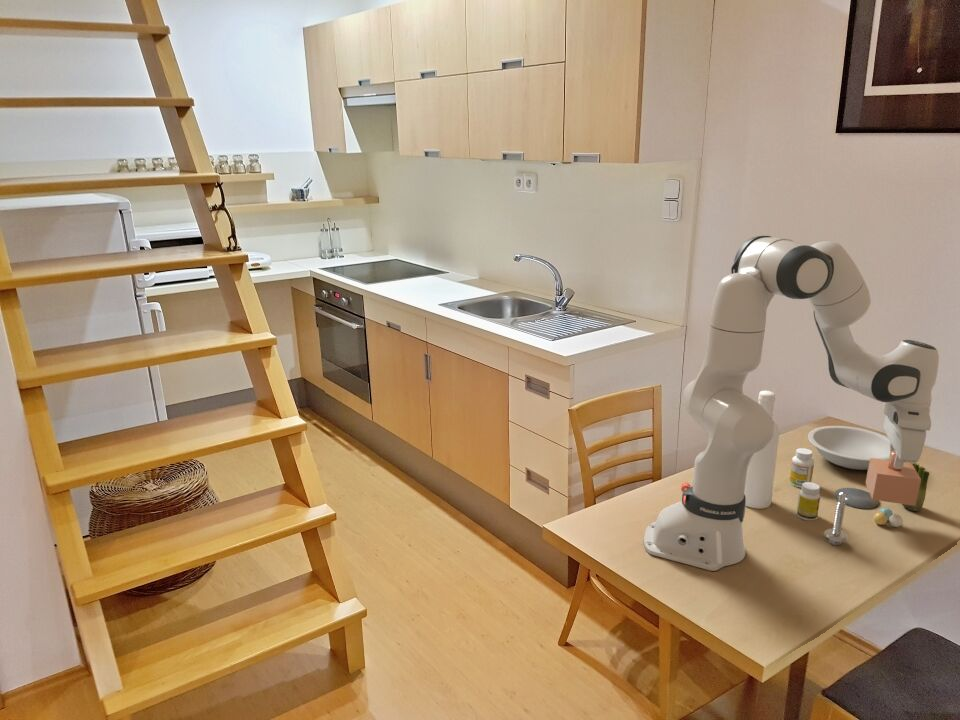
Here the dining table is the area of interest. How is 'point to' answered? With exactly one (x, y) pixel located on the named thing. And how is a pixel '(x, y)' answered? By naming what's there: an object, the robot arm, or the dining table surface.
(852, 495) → the gray glossy dome
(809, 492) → the supplement bottle
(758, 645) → the dining table surface
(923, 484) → the fennel bulb
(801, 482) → the supplement bottle
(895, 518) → the marble ivory
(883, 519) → the marble amber
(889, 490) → the terracotta cover
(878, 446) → the soup bowl
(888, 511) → the marble teal
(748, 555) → the dining table surface
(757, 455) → the bottle
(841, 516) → the screw
